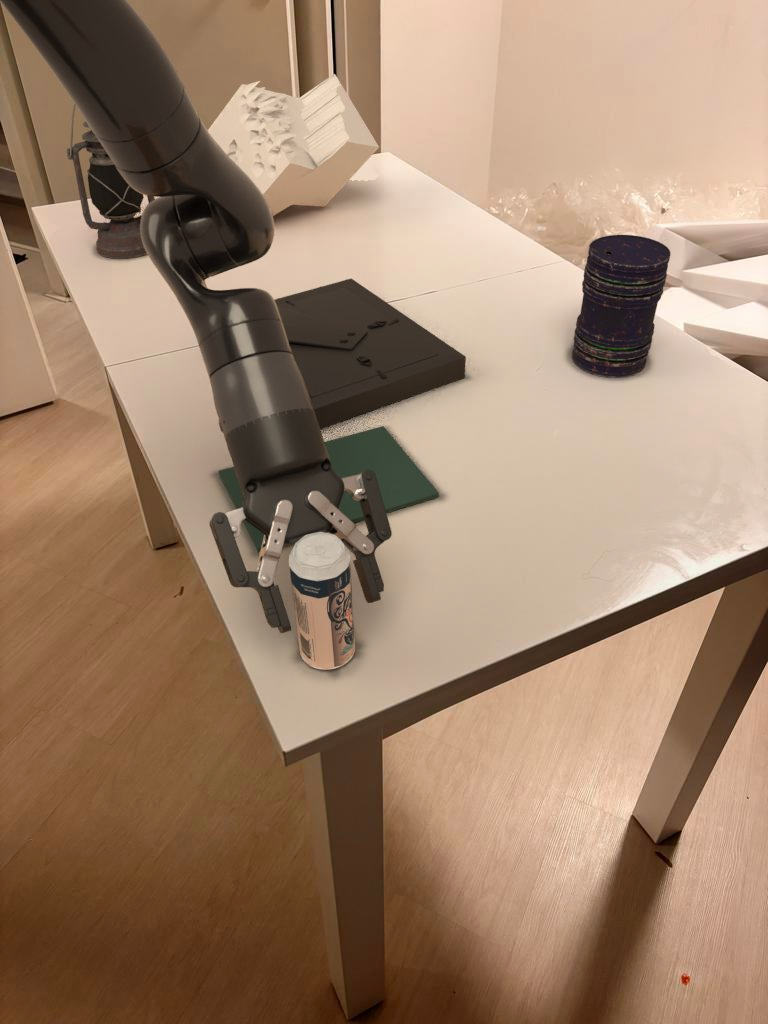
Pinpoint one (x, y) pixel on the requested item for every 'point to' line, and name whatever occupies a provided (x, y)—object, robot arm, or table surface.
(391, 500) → the mat
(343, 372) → the black flat block
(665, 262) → the dark blue cylinder
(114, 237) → the lantern
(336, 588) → the beer can
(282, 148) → the white angular faceted block
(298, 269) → the table surface
